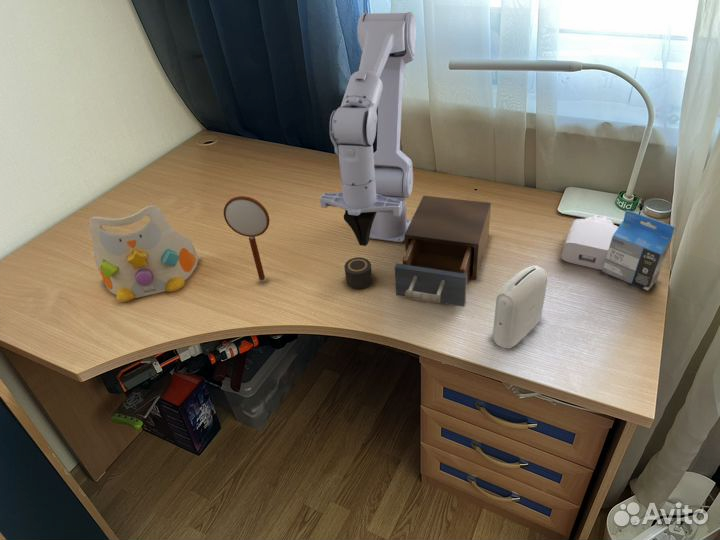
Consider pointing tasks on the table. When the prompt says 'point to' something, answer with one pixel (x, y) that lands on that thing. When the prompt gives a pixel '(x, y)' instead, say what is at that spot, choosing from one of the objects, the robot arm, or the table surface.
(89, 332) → the table surface
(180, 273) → the shape sorter
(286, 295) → the table surface
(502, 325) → the photo printer
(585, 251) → the charger
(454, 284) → the drawer
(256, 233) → the magnifying glass
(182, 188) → the table surface
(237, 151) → the table surface
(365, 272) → the cylinder
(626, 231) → the label tape box
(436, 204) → the cabinet
